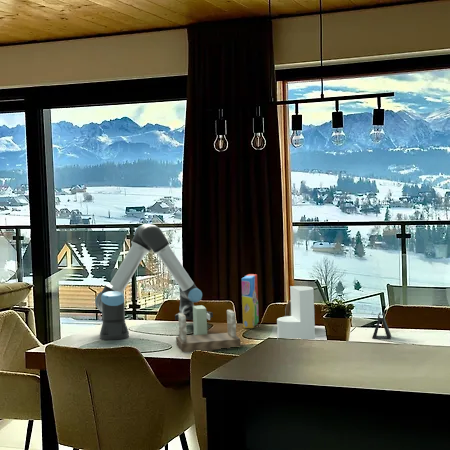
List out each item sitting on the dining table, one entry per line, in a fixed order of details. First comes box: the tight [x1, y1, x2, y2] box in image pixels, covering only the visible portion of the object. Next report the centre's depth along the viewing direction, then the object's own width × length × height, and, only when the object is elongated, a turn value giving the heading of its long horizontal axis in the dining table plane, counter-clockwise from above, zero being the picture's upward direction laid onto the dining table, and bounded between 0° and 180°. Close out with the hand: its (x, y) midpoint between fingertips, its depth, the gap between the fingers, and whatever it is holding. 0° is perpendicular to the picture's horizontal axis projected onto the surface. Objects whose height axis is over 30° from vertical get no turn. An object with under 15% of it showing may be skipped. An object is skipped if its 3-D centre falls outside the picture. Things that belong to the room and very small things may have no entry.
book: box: [192, 304, 208, 335], centre depth 382 cm, size 5×11×16 cm, turn 12°
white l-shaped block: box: [276, 285, 316, 340], centre depth 349 cm, size 17×17×28 cm
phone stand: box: [371, 312, 392, 340], centre depth 367 cm, size 9×6×12 cm, turn 75°
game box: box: [241, 273, 260, 329], centre depth 413 cm, size 21×6×27 cm, turn 168°
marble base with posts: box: [175, 309, 241, 353], centre depth 362 cm, size 28×18×16 cm, turn 102°
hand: (196, 318), depth 391 cm, fingers open, 13 cm apart
